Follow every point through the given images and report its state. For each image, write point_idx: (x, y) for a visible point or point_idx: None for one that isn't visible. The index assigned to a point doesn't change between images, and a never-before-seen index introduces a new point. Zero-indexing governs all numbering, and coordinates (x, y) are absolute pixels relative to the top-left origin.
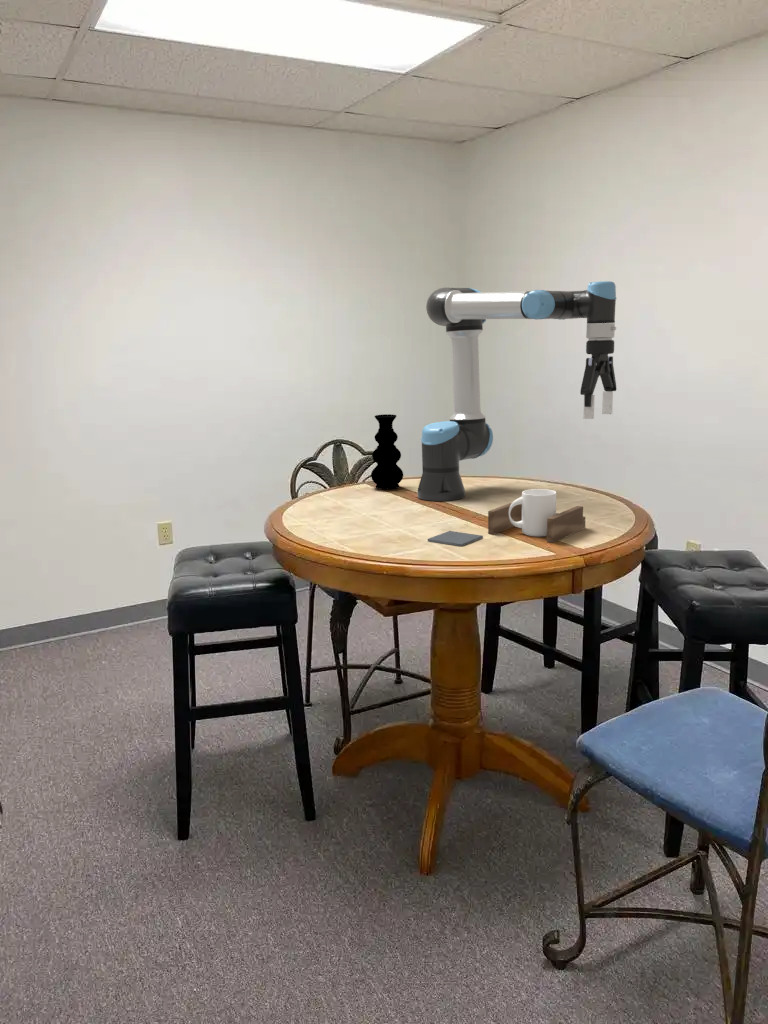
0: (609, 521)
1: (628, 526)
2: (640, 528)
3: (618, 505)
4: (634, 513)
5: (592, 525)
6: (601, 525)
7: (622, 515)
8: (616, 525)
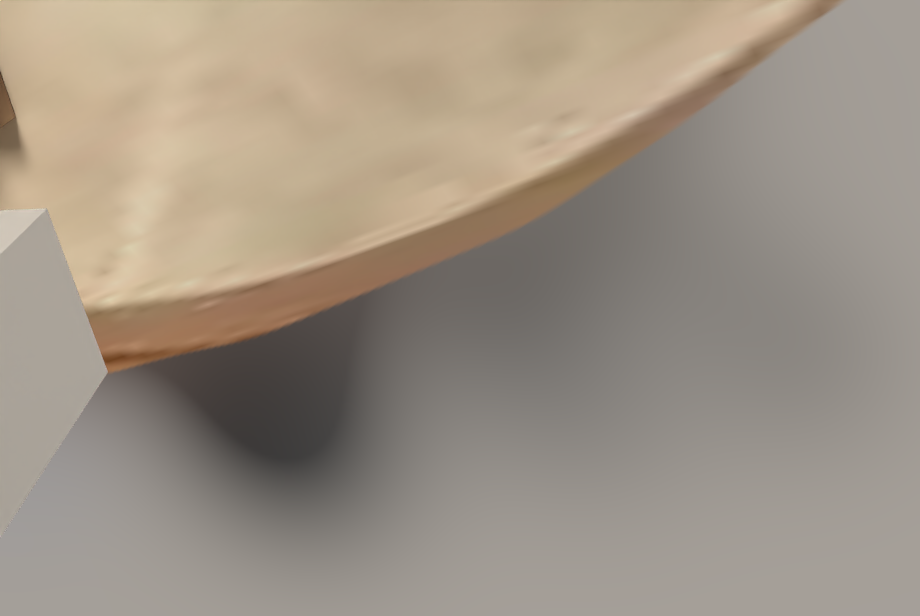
0: (241, 161)
1: (207, 277)
2: (210, 331)
3: (701, 23)
4: (511, 196)
5: (94, 124)
6: (129, 164)
7: (424, 161)
8: (185, 225)
